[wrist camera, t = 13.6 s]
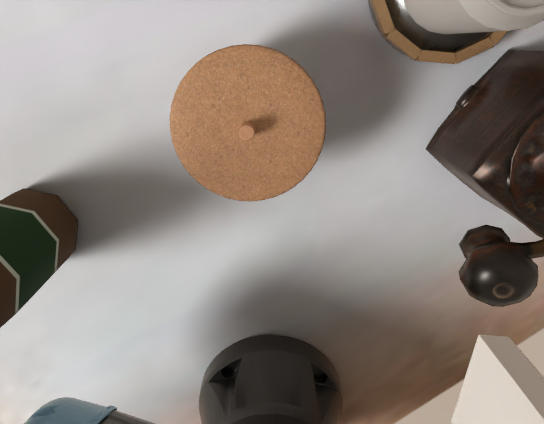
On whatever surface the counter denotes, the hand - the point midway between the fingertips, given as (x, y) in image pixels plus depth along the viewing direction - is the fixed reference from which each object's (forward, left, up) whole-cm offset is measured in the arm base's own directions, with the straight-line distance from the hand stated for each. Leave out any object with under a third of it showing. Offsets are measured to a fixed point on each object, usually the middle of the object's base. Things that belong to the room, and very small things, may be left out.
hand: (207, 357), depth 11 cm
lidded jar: (+2, 0, -29) cm, 29 cm away
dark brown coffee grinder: (0, -20, -29) cm, 36 cm away
